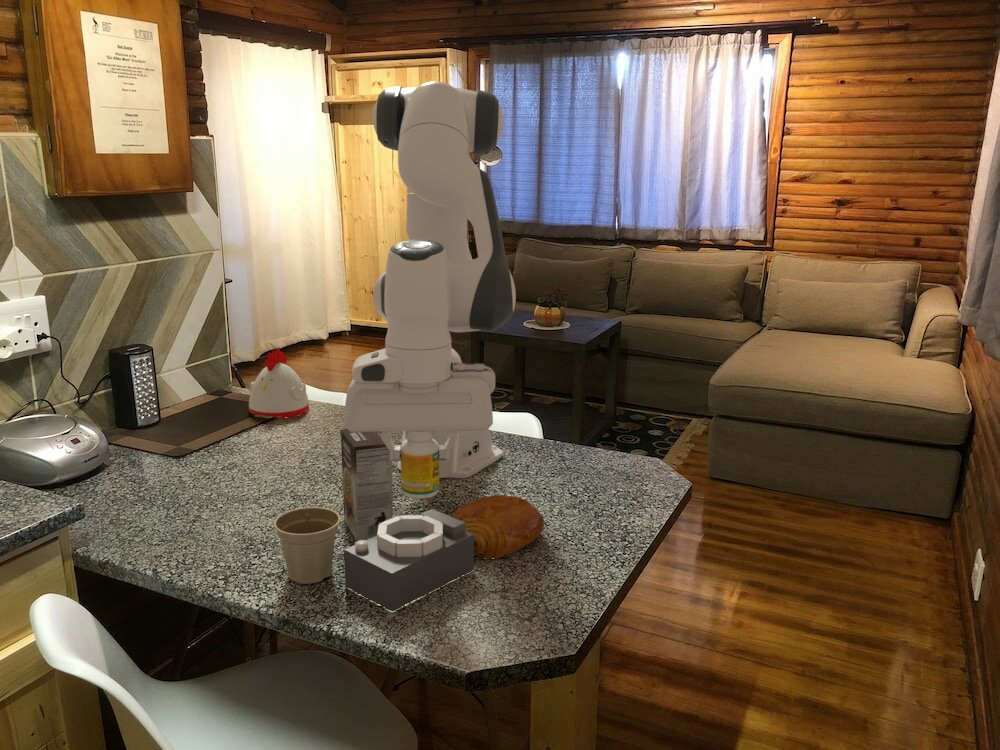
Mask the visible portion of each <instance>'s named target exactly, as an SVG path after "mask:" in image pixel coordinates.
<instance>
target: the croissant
mask: <svg viewBox="0 0 1000 750" xmlns="http://www.w3.org/2000/svg"><path fill="white" fill-rule="evenodd" d="M452 517H453V518H455V519H458V520H460V521H463V522H465V531H467V532H470V533H472V534H474V556H476V557H478V556H479V558H481V557H482V558H481V559H483V558H486V559H485V560H492V558H494V560H497V559H500V558H502V557H505V556H508V555H511V554H513V553H515V552H516V551H518V550H521V549H522V548H524V547H526V546H527V545H530V544H531V543H532V542H534V541H535V540H536V539H537V538H538V537H539V535H541V533H542V531H543V529H544V528H545V519H544V516H543V515H542V513H541V512H540V511H539V510H538V508H537V507H536V506H534V505H532V504H531V503H530V502H529V501H528V500H526V499H523V498H522V497H518V496H512V495H511V496H510V495H505V494H503V495H500V494H497V495H491V496H490V495H489V496H483V497H480V498H477V499H474V500H471V501H468V502H466V503H464V504H463V505H461V506H460V507H459V508H457V509H456V510H455V511H454V515H453V516H452Z"/></svg>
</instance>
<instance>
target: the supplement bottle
mask: <svg viewBox="0 0 1000 750" xmlns="http://www.w3.org/2000/svg"><path fill="white" fill-rule="evenodd" d="M434 435H435V434H434V431H405V437H406V439H407V440H405V441H404V442H403V443H402V442H401V470H400V475H401V476H400V487H401V488H400V490H401V493H402V494H403V495H404V496H406V497H407V498H411V499H415V500H416V499H417V500H420V499H430V498H432V497H434V496H436V495H437V494H438V493H439V491H440V478H439V445H438V443H437V441H435V440H434V439H433V438H434Z"/></svg>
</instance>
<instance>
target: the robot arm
mask: <svg viewBox="0 0 1000 750" xmlns="http://www.w3.org/2000/svg"><path fill="white" fill-rule="evenodd" d="M372 123H373V125H372V126H373V129H374V132H375V135H376V136H377V141H379V143H380V144H381V145H382V146H383V147H384V148H386V149H390V150H394V151H397V165H398V173H399V176H400V178H401V181H402V182H403V184H404V185H405V186H406V188H407V191H406V193H407V194H406V222H405V231H406V236H407V238H408V240H405V241H399V242H397V243H395V244H394V245H392V246H390V248H389V250H388V254H387V259H386V267H385V271H384V272H382V273H381V274H380V275H379V277H378V278H377V280H376V282H375V284H374V287H373V295H372V297H373V304H374V307H375V310H376V311H377V313H378V314H379V315H380V316H381V317H382V318H383V319H384V320H385V321H386V323H387V332H386V336H385V340H384V341H385V342H384V345H385V348H381V349H378V350H375V351H372V352H368V353H366V354H365V353H364V354H362V355H360V356H358V357H357V358H356V359H355V361H354V362H353V365H352V370H351V372H352V373H351V374H352V380H351V381H350V384H349V387H348V388H347V393H346V399H345V405H344V417H343V419H344V421H343V423H344V426H345V429H348V430H349V431H350V432H381V439H382V440H383V442H384V443H385V445H386V446H387V448H388V449H389V450H390V461H392V462H397V468H398V470H400V471H401V445H402V443H403V442H404V441H405V440H407V439H406V437H405V431H434V434H435V435H434V438H433V439H434V440H435V441H437V443H438V445H439V479H443V478H454V479H467V478H470V477H472V476H473V475H475V474H477V473H478V472H480V471H482V470H483V469H485V468H487V467H488V466H490V465H492V464H493V463H495V462H496V461H498V460H500V459H502V458H503V457H504V451H503V450H502V449H501V448H499V447H498V446H496V445H494V444H493V443H492V442H493V441H492V432H491V430H490V428H491V427H492V425H493V423H494V416H493V415H494V414H493V403H492V398H491V394H493V392H494V391H495V389H496V373H495V372H494V370H493V369H492V368H491V367H489V366H487V365H485V363H482V362H481V363H480V362H475V363H465V362H462V359H461V356H460V354H459V353H458V352H457V351H456V350H455V349H454V348H453V347H452V336H451V333H450V332H453V333H470V332H477V331H478V332H480V331H487V332H488V331H489V332H494V331H496V330H498V329H500V327H501V326H502V327H503V325H504V324H506V323H507V322H508V321H509V320H510V319H511V318H512V317H513V316H514V311H515V307H516V303H517V302H516V300H517V299H516V298H517V297H516V296H517V295H516V285H515V282H514V277H513V276H512V273H511V272H512V271H510V268H509V266H510V265H509V263H508V260H507V259H508V258H507V255H506V250H505V244H504V240H503V234H502V233H503V232H502V229H501V227H502V226H501V223H500V217H499V212H498V207H497V202H496V198H495V193H494V190H493V186H492V181H491V179H490V177H489V175H488V172H487V171H484V170H483V169H481V168H479V167H478V166H477V165H476V164H475V162H477V161H478V160H479V157H481V156H484V155H487V154H489V153H491V151H492V150H494V149H495V148H496V147H497V143H498V141H499V140H500V138H501V136H502V132H503V127H504V117H503V111H502V109H501V106H500V101H499V100H498V98H497V96H496V95H495V94H493V93H491V92H488V91H485V90H480V89H476V91H475V90H470V89H465V88H461V87H460V88H458V87H454V86H452V85H451V84H448V83H445V82H442V81H428V82H424V83H422V84H420V85H419V86H414V87H402V86H401V85H398V86H391V87H386V88H385V89H384V90H382V91H381V92H380V93H379V94H378V96H377V99H376V102H375V104H374V108H373V113H372ZM471 154H473V159H472V157H471ZM467 220H468V221H469V222H470V223H471V225H472V229H473V234H474V238H475V245H476V246H475V247H476V252H477V257H476V258H474V259H473V258H472V257H473V256H472V254H471V251H470V247H469V244H468V243H469V242H468V234H467ZM393 432H402V438H401V439H402V440H401V445H399V444H398V445H395V443H394V441H393V439H392V436H393ZM502 456H503V457H502ZM501 457H502V458H501ZM499 458H500V459H499Z"/></svg>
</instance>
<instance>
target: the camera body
mask: <svg viewBox="0 0 1000 750" xmlns="http://www.w3.org/2000/svg"><path fill="white" fill-rule="evenodd" d="M453 517H454V516H451V515H448V514H445V513H443V512H440V511H438V510H436V509H433V508H431V509H429V510H426V511H423V512H421V513H420V514H415V515H414V514H413V515H412V514H409V515H408V514H407V515H406V514H405V515H402V514H401V515H399V516H398V515H397V516H394V517H392V518H391V519H389V520H387V521H384V522H382V523H380V524H379V527H378V532H377V536H375V537H372V538H370V539H365V540H358V541H355V542H354V545H352V546H349V547H347V548H344V549H343V552H344V553H343V554H344V555H343V556H344V583H345V585H344V586H345V587H347V588H350V589H352V590H353V591H355V592H357V593H358V594H361V595H362V596H364V597H366V598H368V599H370V600H372V601H374V602H376V603H377V604H380V605H381V606H383V607H385V608H387V609H389V610H391V611H394V610H396V609H398V608H400V607H401V606H404V605H405V604H407V603H410V602H411V601H413V600H415V599H417V598H419V597H421V596H424V595H425V594H428V593H429V592H431V591H433V590H435V589H437V588H438V587H441V586H443V585H445V584H446V583H448V582H450V581H452V580H454V579H457V578H458V577H461V576H462V575H465V574H467V573H469V572H471V571H472V570H474V567H475V566H474V565H475V564H474V563H475V562H474V559H475V557H474V556H475V555H474V534H472V533H470V532H467V531H465V522H463V521H460V520H458V519H455V518H453ZM471 573H472V572H471ZM469 574H470V573H469ZM467 575H468V574H467ZM465 576H466V575H465Z"/></svg>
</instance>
